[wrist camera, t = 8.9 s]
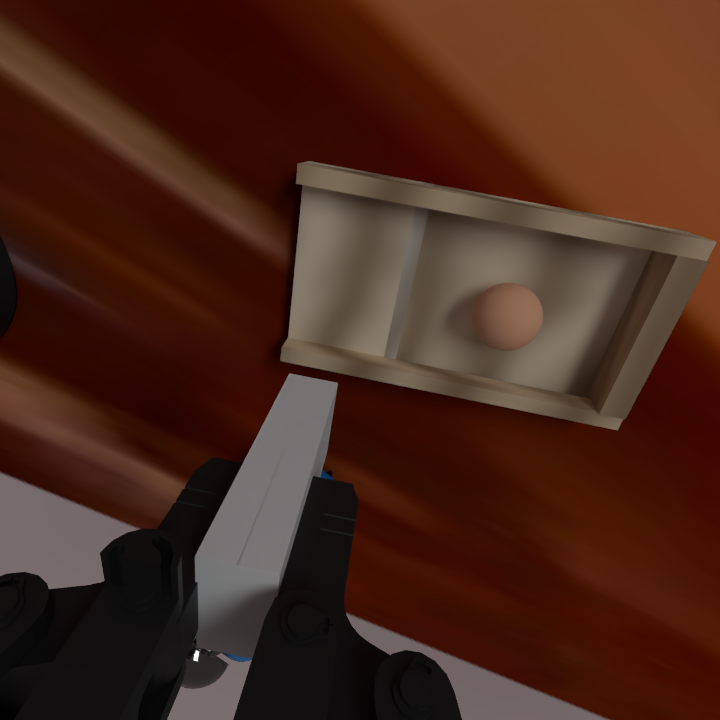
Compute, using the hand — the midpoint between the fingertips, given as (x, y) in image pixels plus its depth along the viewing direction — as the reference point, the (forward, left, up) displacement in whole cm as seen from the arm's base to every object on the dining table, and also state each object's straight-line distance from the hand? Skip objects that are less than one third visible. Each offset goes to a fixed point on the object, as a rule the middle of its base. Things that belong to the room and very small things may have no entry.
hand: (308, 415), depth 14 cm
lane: (+7, 0, -17) cm, 18 cm away
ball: (+9, 0, -14) cm, 17 cm away
